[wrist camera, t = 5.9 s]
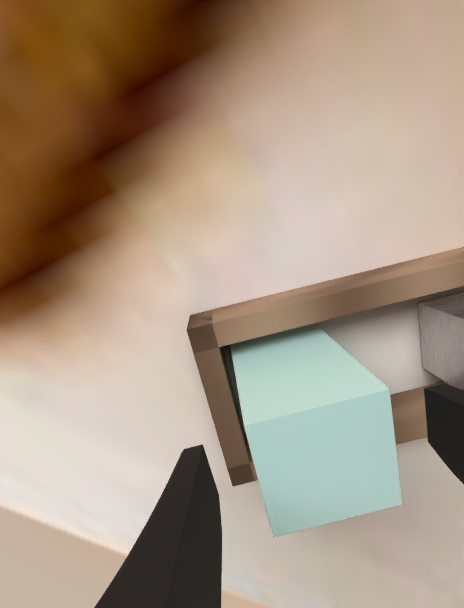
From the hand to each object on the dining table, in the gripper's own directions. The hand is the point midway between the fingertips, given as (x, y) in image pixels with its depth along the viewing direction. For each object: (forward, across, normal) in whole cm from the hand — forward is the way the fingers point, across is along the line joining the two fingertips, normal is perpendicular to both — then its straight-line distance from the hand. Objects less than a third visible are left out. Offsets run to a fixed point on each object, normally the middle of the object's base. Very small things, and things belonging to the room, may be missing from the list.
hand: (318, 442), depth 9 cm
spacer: (+5, 0, 0) cm, 5 cm away
